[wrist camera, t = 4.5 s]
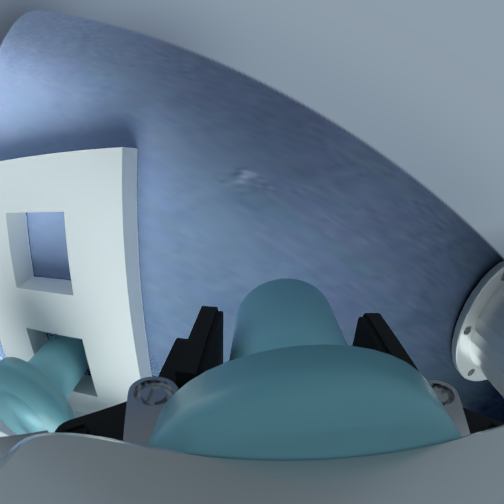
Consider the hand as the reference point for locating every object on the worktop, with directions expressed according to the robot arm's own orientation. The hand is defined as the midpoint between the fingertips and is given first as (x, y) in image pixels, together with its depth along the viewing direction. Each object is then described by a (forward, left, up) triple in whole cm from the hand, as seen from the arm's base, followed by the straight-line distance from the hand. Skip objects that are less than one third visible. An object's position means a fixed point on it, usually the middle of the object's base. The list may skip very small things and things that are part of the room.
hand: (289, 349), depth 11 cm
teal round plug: (0, 0, -2) cm, 2 cm away
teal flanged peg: (+16, +8, -10) cm, 20 cm away
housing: (+16, +4, -10) cm, 19 cm away
